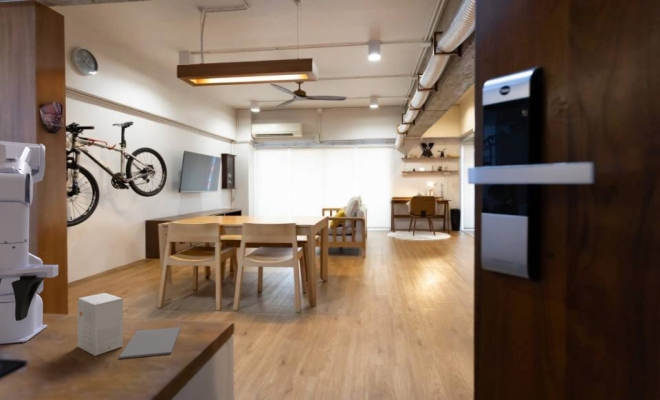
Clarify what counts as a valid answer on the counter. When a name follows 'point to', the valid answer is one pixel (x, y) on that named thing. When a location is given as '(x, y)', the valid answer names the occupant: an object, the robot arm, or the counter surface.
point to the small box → (100, 323)
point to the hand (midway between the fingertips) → (6, 319)
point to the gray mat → (151, 343)
